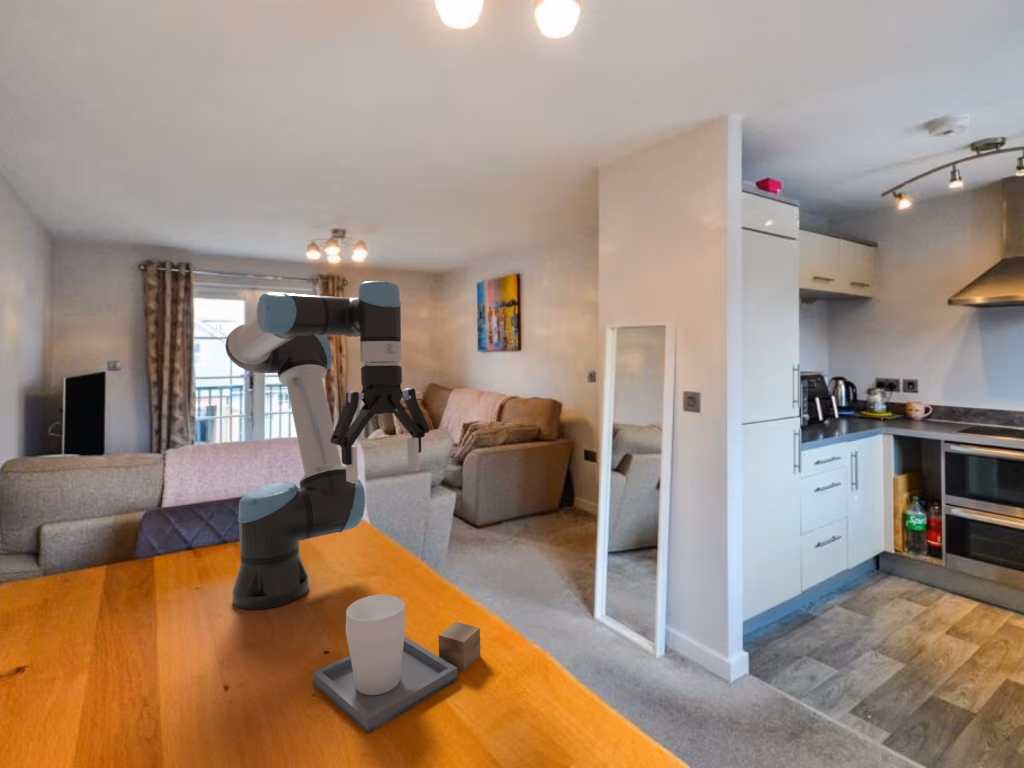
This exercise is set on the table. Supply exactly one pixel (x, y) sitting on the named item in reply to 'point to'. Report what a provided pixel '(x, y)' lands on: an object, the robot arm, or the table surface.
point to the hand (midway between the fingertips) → (384, 475)
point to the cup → (376, 642)
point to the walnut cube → (460, 645)
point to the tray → (372, 711)
